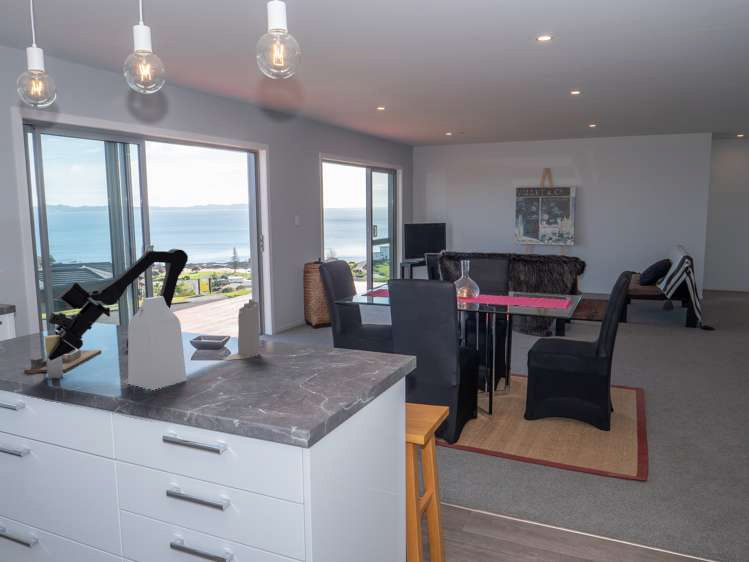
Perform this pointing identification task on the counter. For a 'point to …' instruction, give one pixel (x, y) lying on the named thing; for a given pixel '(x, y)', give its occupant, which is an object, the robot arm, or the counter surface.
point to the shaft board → (63, 361)
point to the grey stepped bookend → (247, 332)
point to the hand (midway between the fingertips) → (48, 357)
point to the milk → (155, 346)
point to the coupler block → (54, 365)
